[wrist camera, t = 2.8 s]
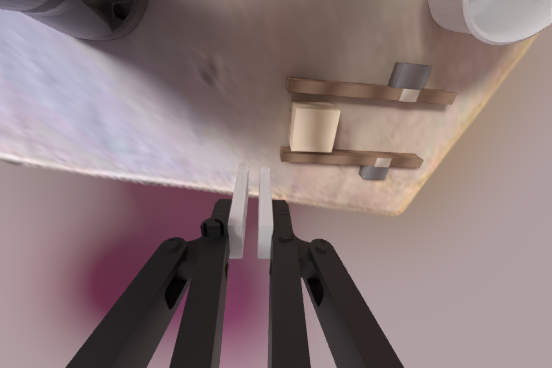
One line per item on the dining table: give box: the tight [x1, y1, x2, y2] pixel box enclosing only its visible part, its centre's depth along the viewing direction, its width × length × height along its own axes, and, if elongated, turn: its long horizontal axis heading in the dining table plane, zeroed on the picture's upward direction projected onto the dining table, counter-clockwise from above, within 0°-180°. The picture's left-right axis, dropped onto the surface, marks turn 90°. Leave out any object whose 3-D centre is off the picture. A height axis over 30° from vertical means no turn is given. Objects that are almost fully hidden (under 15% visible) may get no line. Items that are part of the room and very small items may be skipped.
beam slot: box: [280, 62, 457, 180], centre depth 33 cm, size 24×18×3 cm
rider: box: [288, 101, 341, 152], centre depth 32 cm, size 6×6×5 cm
